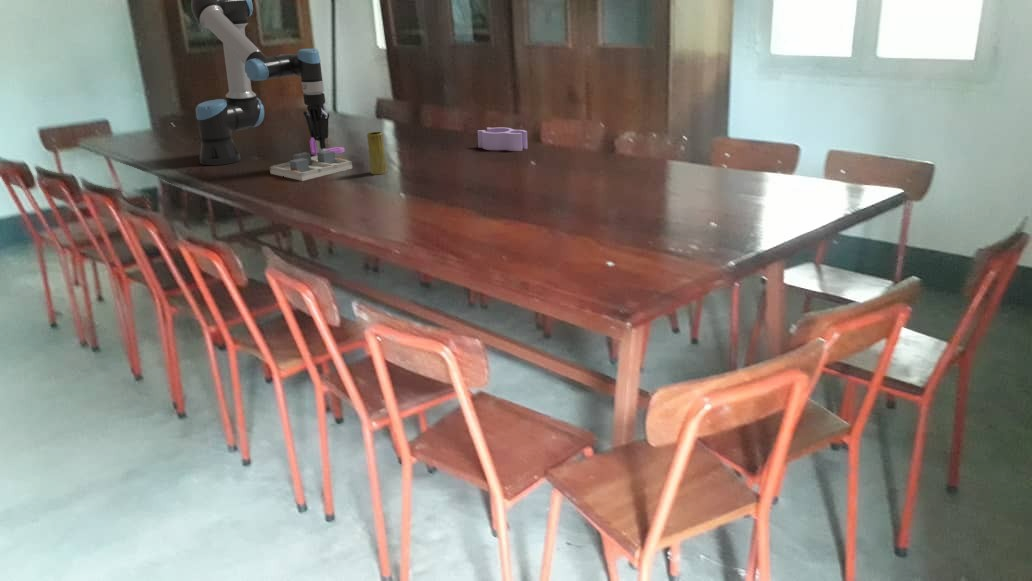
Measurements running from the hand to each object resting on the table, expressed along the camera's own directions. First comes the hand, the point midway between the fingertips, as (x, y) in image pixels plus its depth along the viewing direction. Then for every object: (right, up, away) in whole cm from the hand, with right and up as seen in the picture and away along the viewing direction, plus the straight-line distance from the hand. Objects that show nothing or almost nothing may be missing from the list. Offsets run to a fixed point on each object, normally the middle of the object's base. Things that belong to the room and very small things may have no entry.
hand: (322, 157), depth 300 cm
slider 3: (+2, -2, -1) cm, 3 cm away
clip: (+68, +7, +21) cm, 71 cm away
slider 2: (-5, -7, -13) cm, 15 cm away
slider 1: (-7, -3, -3) cm, 8 cm away
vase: (+23, -8, -12) cm, 27 cm away
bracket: (-3, +5, +25) cm, 25 cm away
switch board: (-3, -6, -5) cm, 8 cm away
